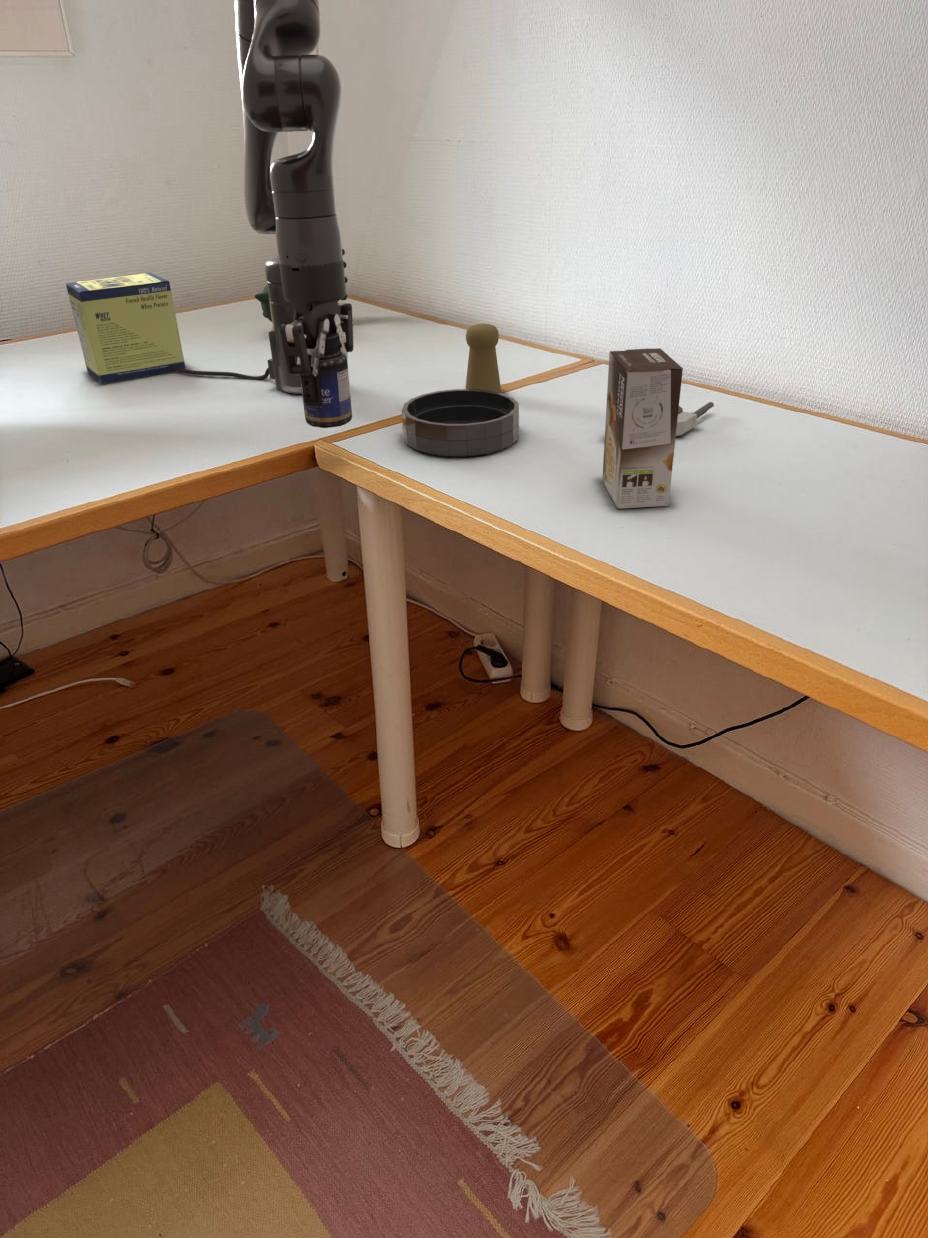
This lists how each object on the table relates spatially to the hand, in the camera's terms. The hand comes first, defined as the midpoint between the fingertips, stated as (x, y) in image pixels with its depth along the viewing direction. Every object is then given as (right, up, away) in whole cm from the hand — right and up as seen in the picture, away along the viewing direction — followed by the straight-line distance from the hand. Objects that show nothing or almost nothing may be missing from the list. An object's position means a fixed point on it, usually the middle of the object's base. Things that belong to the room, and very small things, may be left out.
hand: (326, 396), depth 110 cm
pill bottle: (0, -3, +2) cm, 3 cm away
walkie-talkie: (+46, -1, +13) cm, 48 cm away
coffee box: (+38, -13, -6) cm, 41 cm away
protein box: (-42, +17, +47) cm, 65 cm away
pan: (+17, -3, +12) cm, 21 cm away
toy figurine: (-16, +33, +71) cm, 80 cm away
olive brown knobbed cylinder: (+21, +8, +29) cm, 36 cm away
